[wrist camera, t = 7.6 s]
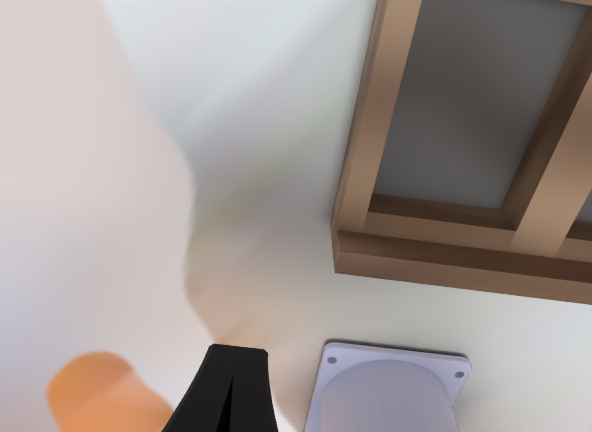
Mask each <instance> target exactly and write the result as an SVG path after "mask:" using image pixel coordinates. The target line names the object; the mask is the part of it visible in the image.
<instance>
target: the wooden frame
mask: <svg viewBox="0 0 592 432" xmlns="http://www.w3.org/2000/svg"><path fill="white" fill-rule="evenodd" d="M330 225H331V236H332V247H333V259H334V270H335V273H340V274H348V275H356V276H364V277H372V278H380V279H388V280H396V281H404V282H412V283H420V284H428V285H436V286H444V287H452V288H460V289H469V290H477V291H485V292H493V293H501V294H509V295H517V296H525V297H533V298H541V299H549V300H557V301H565V302H573V303H581V304H589V305H592V0H378V1H377V6H376V11H375V16H374V20H373V25H372V30H371V35H370V39H369V44H368V49H367V54H366V58H365V63H364V68H363V73H362V77H361V82H360V87H359V92H358V96H357V101H356V106H355V111H354V115H353V120H352V125H351V130H350V134H349V139H348V144H347V149H346V153H345V158H344V163H343V167H342V172H341V177H340V182H339V186H338V191H337V196H336V201H335V205H334V210H333V215H332V220H331V224H330Z"/></svg>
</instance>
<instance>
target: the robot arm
mask: <svg viewBox="0 0 592 432" xmlns="http://www.w3.org/2000/svg"><path fill="white" fill-rule="evenodd" d="M330 357H334V358H330ZM471 368H472V366H471V363H470V361H469V359H467V358H465V357H459V356H450V355H441V354H433V353H424V352H416V351H407V350H398V349H390V348H381V347H372V346H364V345H355V344H346V343H338V342H331V343H328V344H327V345H325V347H324V351H323V355H322V359H321V363H320V367H319V371H318V375H317V379H316V383H315V388H314V392H313V396H312V400H311V404H310V408H309V412H308V416H307V420H306V424H305V429H304V432H459V429H458V426H457V423H456V420H455V417H454V414H453V410H452V406H453V404H454V402H455V400H456V398H457V396H458V394H459V392H460V390H461V388H462V386H463V384H464V382H465V380H466V378H467V376H468V374H469V372H470V370H471ZM161 432H278V428H277V424H276V419H275V414H274V409H273V404H272V397H271V391H270V384H269V374H268V353H267V352H266V351H265V350H264V349H257V348H248V347H239V346H230V345H222V344H213V345H211V346H209V348H208V351H207V353H206V355H205V358H204V360H203V362H202V364H201V366H200V368H199V370H198V372H197V374H196V376H195V378H194V380H193V381H192V383H191V385H190V387H189V388H188V390H187V392H186V394H185V395H184V397H183V399H182V400H181V402H180V403H179V405H178V406H177V408H176V410H175V411H174V413H173V415H172V416H171V418H170V419H169V421H168V422H167V424H166V426H165V427H164V429H163V430H162V431H161Z"/></svg>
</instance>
